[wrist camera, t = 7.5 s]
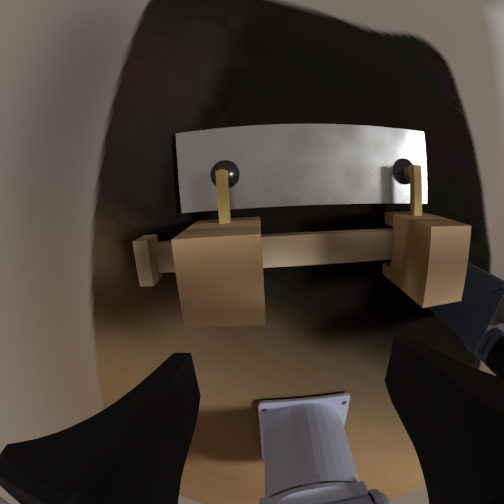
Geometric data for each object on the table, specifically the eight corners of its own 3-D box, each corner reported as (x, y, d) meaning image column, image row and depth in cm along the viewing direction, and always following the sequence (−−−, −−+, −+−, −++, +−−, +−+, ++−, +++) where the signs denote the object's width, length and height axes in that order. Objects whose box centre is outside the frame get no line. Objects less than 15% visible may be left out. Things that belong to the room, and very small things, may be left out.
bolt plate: (424, 202, 18) (427, 203, 17) (183, 212, 18) (181, 213, 18) (421, 132, 16) (424, 131, 16) (177, 134, 17) (175, 133, 17)
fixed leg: (416, 270, 19) (461, 300, 13) (382, 273, 19) (422, 307, 13) (419, 166, 17) (471, 166, 11) (383, 164, 17) (431, 161, 11)
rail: (441, 258, 19) (455, 265, 17) (150, 276, 19) (140, 286, 18) (443, 220, 18) (458, 224, 16) (144, 235, 19) (132, 241, 17)
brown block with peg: (263, 282, 19) (265, 324, 13) (205, 284, 19) (184, 327, 14) (256, 167, 17) (256, 161, 12) (193, 172, 17) (164, 170, 12)
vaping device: (422, 312, 20) (510, 401, 8) (448, 252, 19) (559, 313, 7) (441, 318, 20) (525, 400, 8) (466, 262, 19) (569, 320, 7)
